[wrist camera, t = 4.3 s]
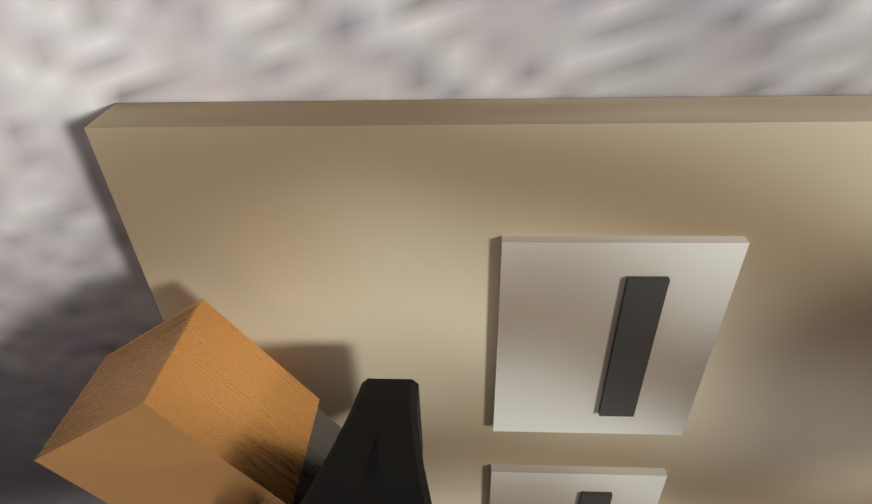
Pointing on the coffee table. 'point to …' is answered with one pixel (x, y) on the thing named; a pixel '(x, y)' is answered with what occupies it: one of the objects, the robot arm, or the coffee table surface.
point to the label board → (539, 278)
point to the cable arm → (192, 421)
